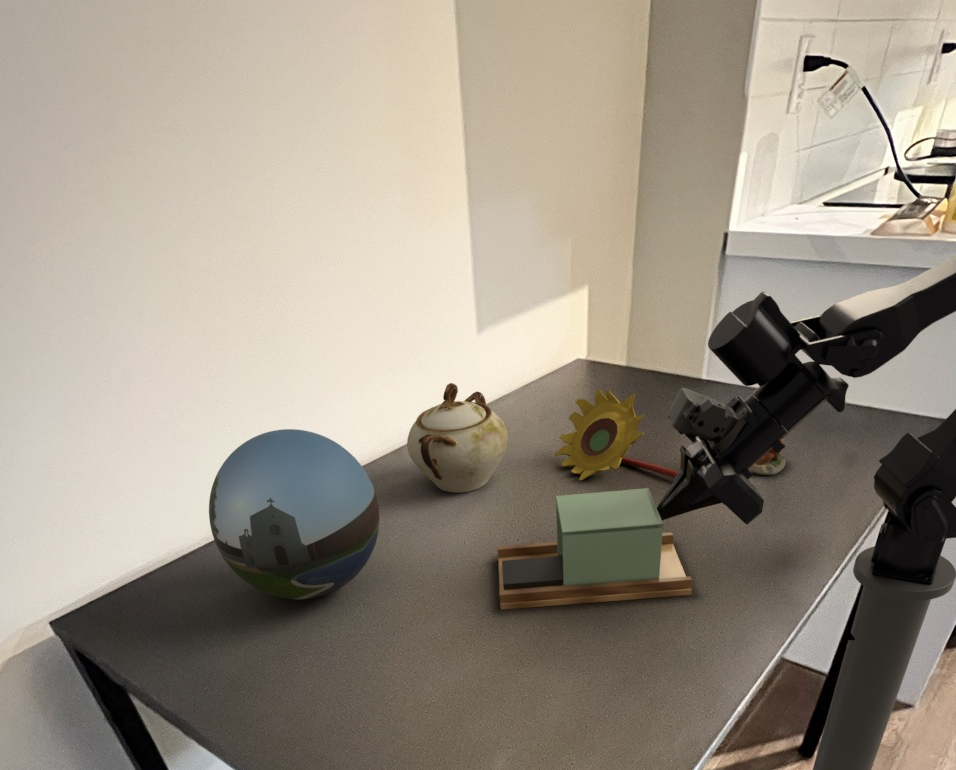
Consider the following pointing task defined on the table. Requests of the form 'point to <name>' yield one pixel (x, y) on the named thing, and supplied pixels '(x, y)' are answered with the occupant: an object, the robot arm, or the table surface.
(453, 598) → the table surface
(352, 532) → the decorative sphere
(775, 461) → the figurine
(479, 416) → the sugar bowl
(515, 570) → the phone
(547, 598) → the dock
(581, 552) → the cover
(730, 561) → the table surface
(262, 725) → the table surface
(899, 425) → the table surface
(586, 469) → the decorative flower
